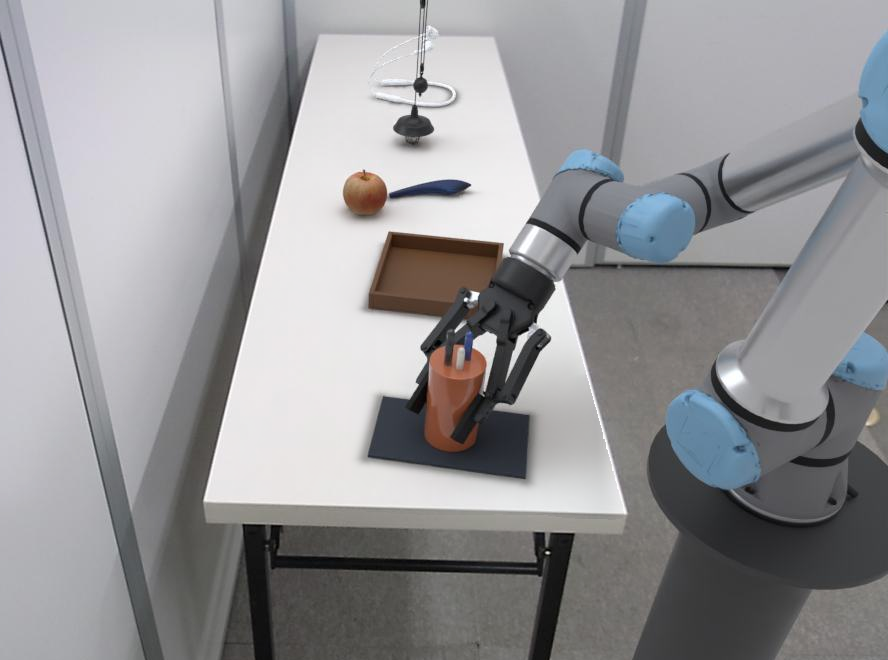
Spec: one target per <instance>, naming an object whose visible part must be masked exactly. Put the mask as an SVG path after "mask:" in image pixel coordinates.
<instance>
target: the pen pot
mask: <svg viewBox="0 0 888 660" xmlns="http://www.w3.org/2000/svg"><path fill="white" fill-rule="evenodd" d="M455 333H456V330H455V331H454V330H453V329H449V330H448V331H447V334H446V345H445V346H443V347H440V348H438V349H437V350H435V351H434V352H433V353H432V355H431V356H430V361H429V374H428V386H427V399H426V411H425V424H424V436H425V438H426V440H427V441H428V443H429V444H431V445H432V446H433V447H435V448H437V449H439V450H443V451H447V452H459V451H463V450H466V449H468V448H470V447H471V446H472V445H473V444H474V443H475V442H476V440H477V435H478V428H479V423H478V422H477V424H476V425H475V427H474V428H473V430H472V431H471V433H470V435H469V436H468V438H467V439H466V441H465V442H464V444H461V443H459V442H456V441H454V440H453V439H451V438H450V436H451V434H452V433H453V431H454V430H455V428H456V426H457V425H458V423H459V422H460V420H461V419H462V417H463V415H464V414H465V412H466V411H467V409H468V408H469V406H470V404H471V403H472V401H473V400H474V398H475V397H476V395H477V394H478V393H479V394H481V395H483V391H485V389H484V388H485V382H486V374H487V367H488V361H487V359H486V357H485V355H484V354H483V353H481V351H479V350H477V349H476V348H474V347H473V346H474V340H473V338H474V334H473V332H471V331H468V332H467V333H466V335H465V344H464V345H454V339H455ZM483 396H484V395H483Z"/></svg>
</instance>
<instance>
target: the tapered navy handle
mask: <svg viewBox="0 0 888 660" xmlns="http://www.w3.org/2000/svg"><path fill="white" fill-rule="evenodd" d="M470 187H472V184H471V183H469V182H466V181H463V180H461V179H454V178H453V179H452V178H451V179H450V178H449V179H438V180H432V181H427V182H423V183H418V184H415V185H411V186H408V187H404V188H401V189H397V190H395V191H391V192H389V193H388V196H389V199H393V198H401V197H409V196H418V195H441V196H455V195H457V194H460V193H461V192H463V191H464V192H465V190H467V189H468V188H470Z"/></svg>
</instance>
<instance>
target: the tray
mask: <svg viewBox="0 0 888 660" xmlns="http://www.w3.org/2000/svg"><path fill="white" fill-rule="evenodd" d="M385 238H386V239H385V241H384V244H383V248H382V251H381V254H380V257H379V260H378V263H377V267H376V268H375V269H376V270H375V273H374V276H373V279H372V281H371V285H370V288H369V292H368V306H367V307H368V309H373V310H379V311H380V310H381V311H391V312H397V313H407V314H417V315H423V316H424V315H425V316H432V317H433V316H434V317H441V318H442V317H443V316H444V315H445V314H446V312H447V311H448V310H449V308H450V307H451V306H452V305H453V303H454V302H455V299H456V297H457V294H458V291H459V289H460V288H461V287H466V288H467V289H468V290H470V291H474V292H478V293H480V292H481V291H483V290H484V289H486V288H487V287H488V285H489V284H490V281H491V278H492V276H493V274H494V273H495V271H496V270H497V268H498V267H499V265H500V263H501V262H502V260H503V255H504V254H503V253H504V245H505V243H504V242H498V241H497V242H496V241H487V240H479V239H478V240H476V239H470V238H469V239H467V238H458V237H448V236H439V235H429V234H421V233H410V232H400V231H388V233H387V235H386V237H385ZM477 311H478V303H476V304H475V307H474V308H470V310H469V312H468V314H467V315H466V317H465V318H464V319H463V320H466V321H467V320H468V319H469V318H470V317H472V316H473V315H474V314H475V313H476V312H477Z"/></svg>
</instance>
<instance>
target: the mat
mask: <svg viewBox="0 0 888 660" xmlns="http://www.w3.org/2000/svg"><path fill="white" fill-rule="evenodd" d="M409 400H410V398H409V399H408V398H400V397H393V396H385V395H383V396H382V398H381V402H380V406H379V410H378V413H377V418H376V420H375V421H376V422H375V424H374V425H375V426H374V429H373V434H372V437H371V441H370V443H369V444H370V445H369V449H368V452H367V457H368V458H371V459H379V460H387V461H392V462H393V461H394V462H399V463H408V464H415V465H422V466H429V467H438V468H444V469H451V470H458V471H464V472H465V471H466V472H471V473H472V472H473V473H481V474H486V475H492V476H493V475H495V476H502V477H509V478H516V479H523V480H526V478H527V462H528V448H529V447H528V445H529V430H530V429H529V428H530V414H524V413H517V412H510V411H502V410H494V409H493V410H492V412H491V413H490V415H489V416H488V418H487V419H486V421H485V422H484V423H483V424H482V425H481V424H479V428H478V435H477V440H476V442H475V443H474V444H473V445H472V446H471V447H470V448H468V449H466V450H463V451H459V452H447V451H443V450H439V449H437V448H435V447H433V446H432V445H431V444H429V443H428V441H427V440H426V438H425V436H424V424H425V411H426V403H425V405H424V407H423V408H422V410H421V411H420V413H419V415H418V414H416V413H414V412H412V411H410V410H408V409H407V408H405V406H406V404H407V403H408V401H409Z"/></svg>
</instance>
